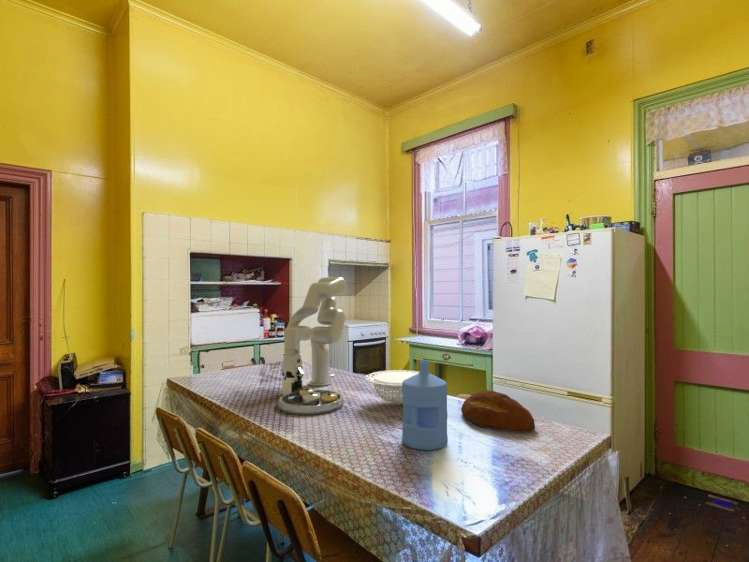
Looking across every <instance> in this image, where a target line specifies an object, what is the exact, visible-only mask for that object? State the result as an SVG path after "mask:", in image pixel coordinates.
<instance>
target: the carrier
mask: <svg viewBox="0 0 749 562" xmlns="http://www.w3.org/2000/svg"><path fill="white" fill-rule="evenodd" d="M343 407H344V396H343V394H342V393H340V392H338V391H334V390H330V389H315V388H312V387H304V388H303V387H302V389H300V391H295V392H291V393H288V394H285V395H283V394H282V396H280V397H279V400H278V409H279V410H280V411H281V412H283V413H285V414H288V415H295V416H317V415H324V414H325V415H326V414H330V413H333V412H336V411H339V410H340V409H342V408H343Z"/></svg>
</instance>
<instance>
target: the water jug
mask: <svg viewBox="0 0 749 562" xmlns="http://www.w3.org/2000/svg"><path fill="white" fill-rule="evenodd" d="M429 363H430V361H429V360H419V364H420V365H419V371H418V372H419V374H416V375H414V376H412V377H410V378H408V379H405V380H404V381H403V382H402V395H401V397H402V401H403V418H402V433H401V434H402V435H401V440H402V443H403V444H404V445H405V446H407V447H408V448H410V449H413V450H417V451H418V450H419V451H436V450H439V449H442V448H444V447H445V446H447V444H448V441H449V439H448V438H449V437H448V383H447V382H446V381H445V380H444V379H442V378H440V377H438V376H436V375H434V374H432V373H430V366H429Z"/></svg>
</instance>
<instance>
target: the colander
mask: <svg viewBox="0 0 749 562" xmlns="http://www.w3.org/2000/svg"><path fill="white" fill-rule="evenodd" d="M419 372H420V371H417V370H416V371H415V370H413V371H412V370H405V369H394V370H393V369H390V370H380V371H373V372H372V373H369V374H366V375H365V376H364V377H363V379H364V380H365V381H366V382H369V383H372V384H373V386H374V390H375V392H376V394H377V395H378V397H380V399H382V400H384V401H386V402H390V403H393V404H397V405H398V406H401V404H402V405H404V403H403V401H402V382H403V381H404V380H405V379H408V378H410V377H412V376H414V375H416V374H419Z"/></svg>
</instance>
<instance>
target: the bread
mask: <svg viewBox="0 0 749 562" xmlns="http://www.w3.org/2000/svg"><path fill="white" fill-rule="evenodd" d="M462 403H463V404H462V405H461V409H460V411H461V414H462V415H463V416H464V417H465V418H466V419H467V420H468V421H470V423H473V424H475V425H477V426H480V427H483V428H487V429H488V428H489V429H491V430H492V429H493V430H497V431H499V430H500V431H508V432H509V431H510V432H518V433H519V432H521V433H522V432H533V431H534V430H535V429H536V425H535V424H536V423H535V419H534V417H533V415H532V413H531V412H530V410H528V409H527V408H526V407H524V406H523V405H522V404H521V403H520V402H518V401H517V400H516V399H514V398H511V397H510V396H509V395H508V394H505V393H502V392H498V391H496V390H490V389H487V390H481V391H478V392H475V393H473V394H471V395H470V396H468V397H466V399H465V400H464V401H463V402H462Z"/></svg>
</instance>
